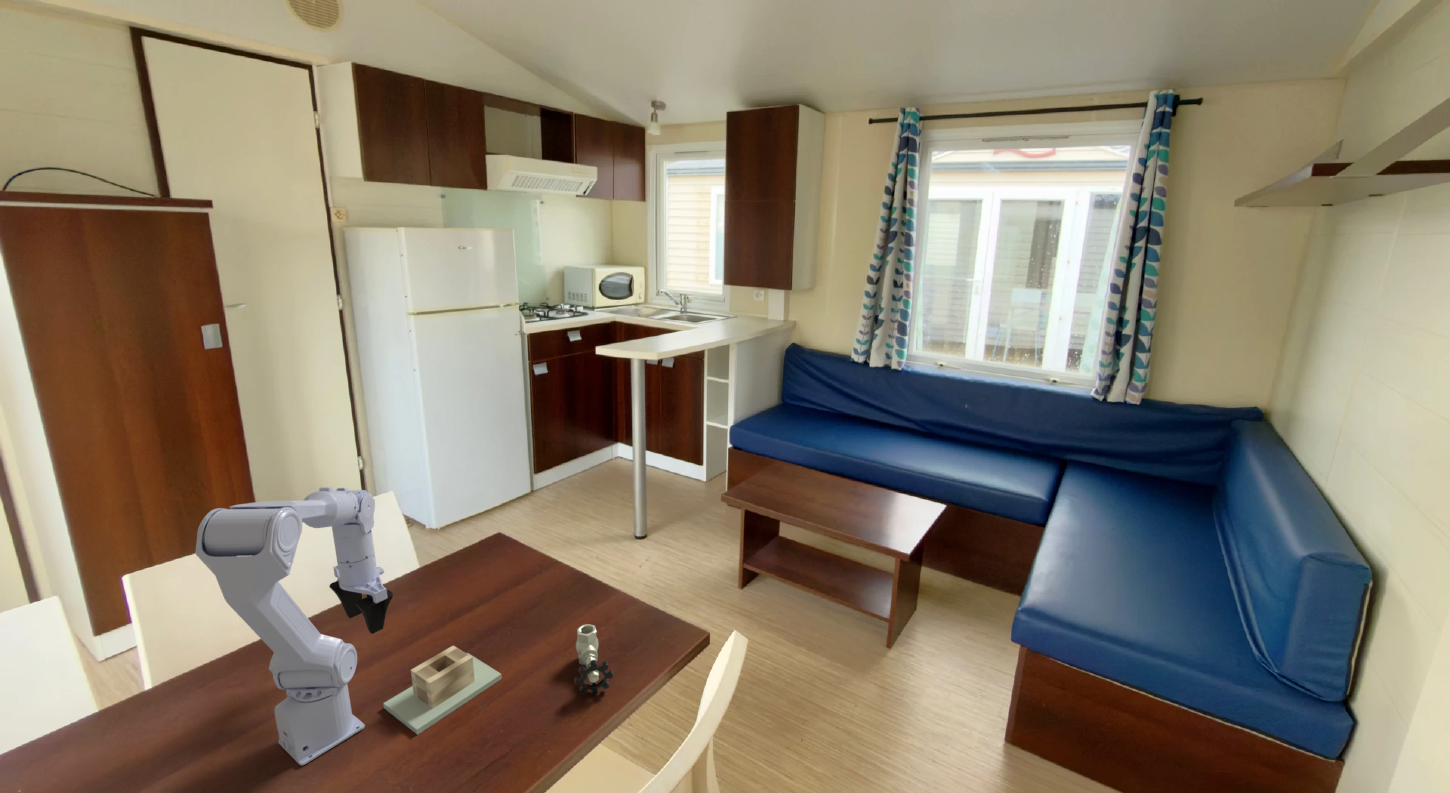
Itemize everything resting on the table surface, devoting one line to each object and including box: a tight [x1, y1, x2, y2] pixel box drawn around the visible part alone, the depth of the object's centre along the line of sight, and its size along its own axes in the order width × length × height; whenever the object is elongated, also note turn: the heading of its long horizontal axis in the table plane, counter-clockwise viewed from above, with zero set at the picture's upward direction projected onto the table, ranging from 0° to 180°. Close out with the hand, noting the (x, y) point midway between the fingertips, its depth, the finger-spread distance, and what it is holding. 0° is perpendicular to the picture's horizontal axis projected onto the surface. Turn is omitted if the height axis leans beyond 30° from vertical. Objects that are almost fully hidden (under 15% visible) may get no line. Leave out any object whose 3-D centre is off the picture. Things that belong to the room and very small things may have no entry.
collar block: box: [410, 645, 475, 708], centre depth 109 cm, size 8×6×5 cm
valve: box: [574, 623, 614, 696], centre depth 115 cm, size 7×7×12 cm
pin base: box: [383, 652, 503, 736], centre depth 109 cm, size 16×10×4 cm, turn 146°
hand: (365, 622), depth 113 cm, fingers open, 7 cm apart
